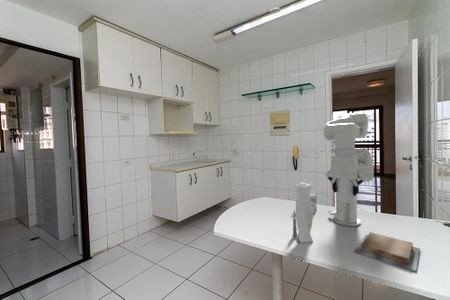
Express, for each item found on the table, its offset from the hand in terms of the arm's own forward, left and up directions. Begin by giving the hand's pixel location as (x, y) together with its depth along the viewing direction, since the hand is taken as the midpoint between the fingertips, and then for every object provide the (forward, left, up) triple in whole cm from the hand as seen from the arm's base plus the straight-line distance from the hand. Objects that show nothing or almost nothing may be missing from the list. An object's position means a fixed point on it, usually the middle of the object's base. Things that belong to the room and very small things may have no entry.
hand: (345, 193), depth 88 cm
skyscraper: (-14, -10, -22) cm, 28 cm away
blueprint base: (+14, +2, -21) cm, 26 cm away
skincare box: (0, 0, -4) cm, 4 cm away
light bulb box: (-29, +25, -22) cm, 44 cm away
